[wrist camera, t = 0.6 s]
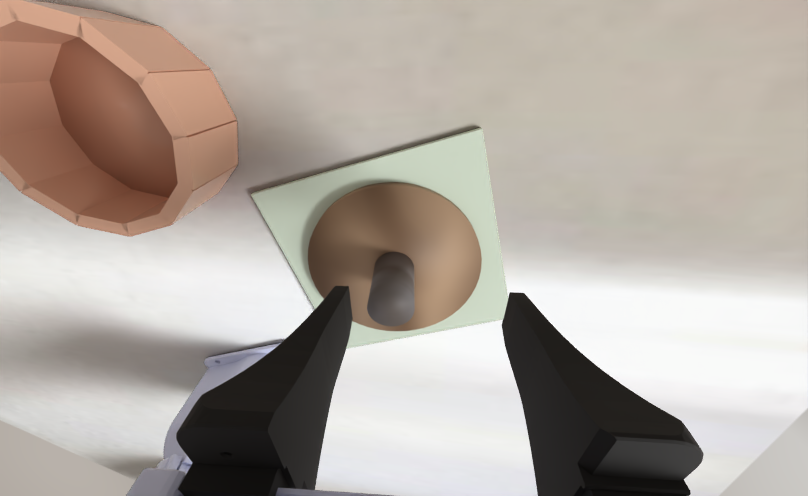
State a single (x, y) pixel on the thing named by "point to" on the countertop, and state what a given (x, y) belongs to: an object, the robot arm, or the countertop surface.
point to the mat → (421, 165)
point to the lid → (396, 255)
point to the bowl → (109, 118)
